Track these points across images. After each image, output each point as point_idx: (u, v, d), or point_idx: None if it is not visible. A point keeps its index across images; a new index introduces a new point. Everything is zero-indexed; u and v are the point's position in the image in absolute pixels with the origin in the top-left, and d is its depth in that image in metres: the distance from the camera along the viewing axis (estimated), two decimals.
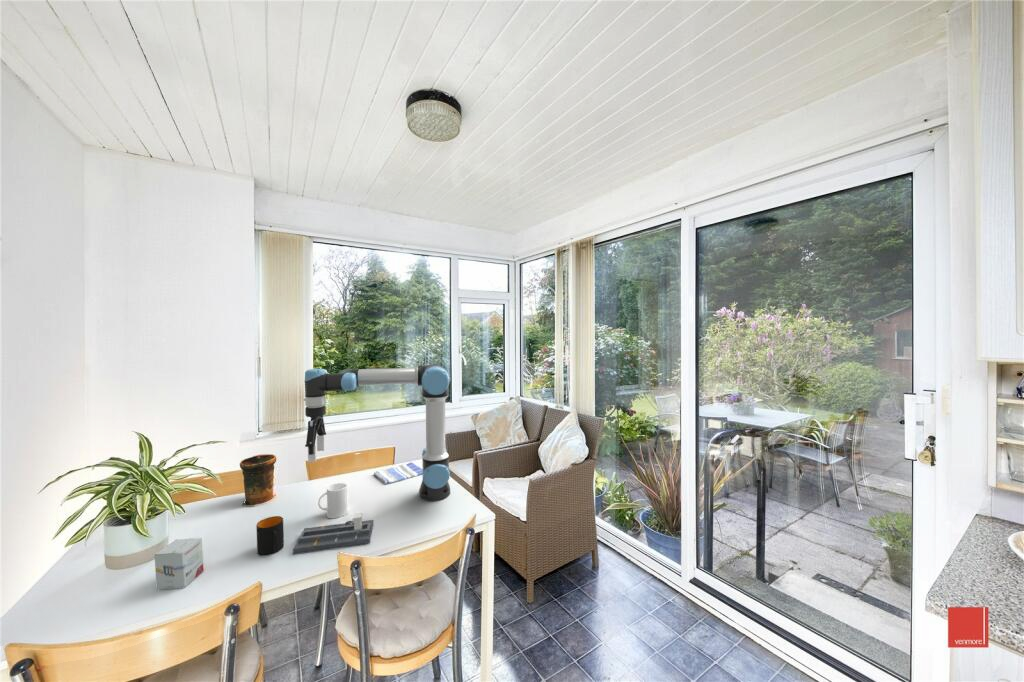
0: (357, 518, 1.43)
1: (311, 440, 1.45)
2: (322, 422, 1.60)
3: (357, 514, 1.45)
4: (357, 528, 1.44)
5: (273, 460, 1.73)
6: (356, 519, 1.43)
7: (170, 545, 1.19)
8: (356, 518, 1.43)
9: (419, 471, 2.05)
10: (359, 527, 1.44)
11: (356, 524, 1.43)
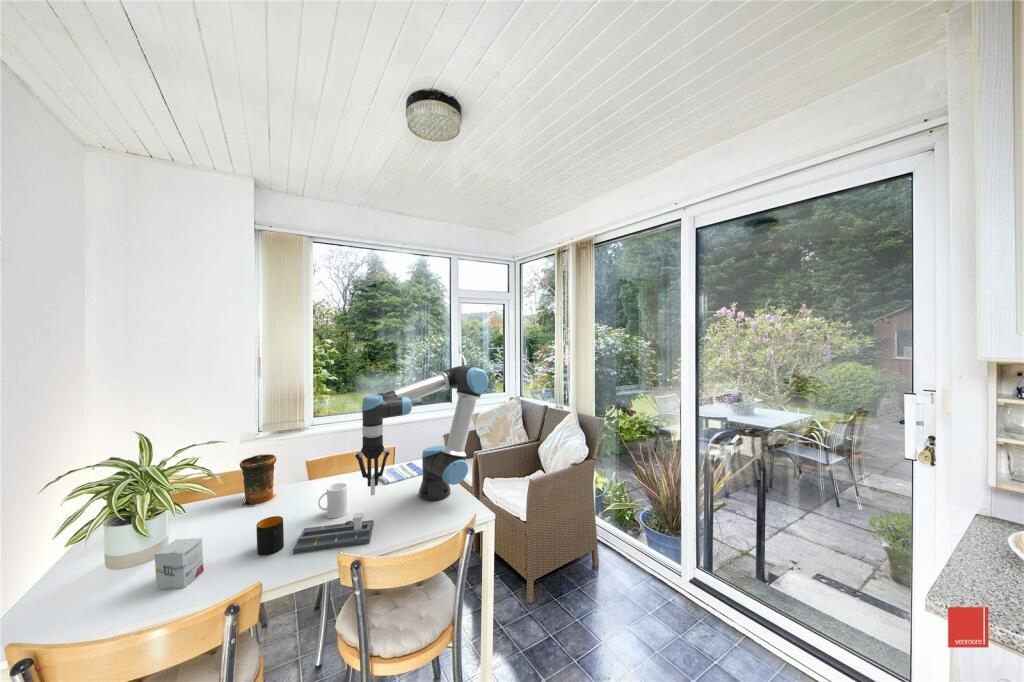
0: (357, 518, 1.43)
1: None
2: None
3: (357, 514, 1.45)
4: (357, 528, 1.44)
5: (273, 460, 1.73)
6: (356, 519, 1.43)
7: (170, 545, 1.19)
8: (356, 518, 1.43)
9: (419, 471, 2.05)
10: (359, 527, 1.44)
11: (356, 524, 1.43)
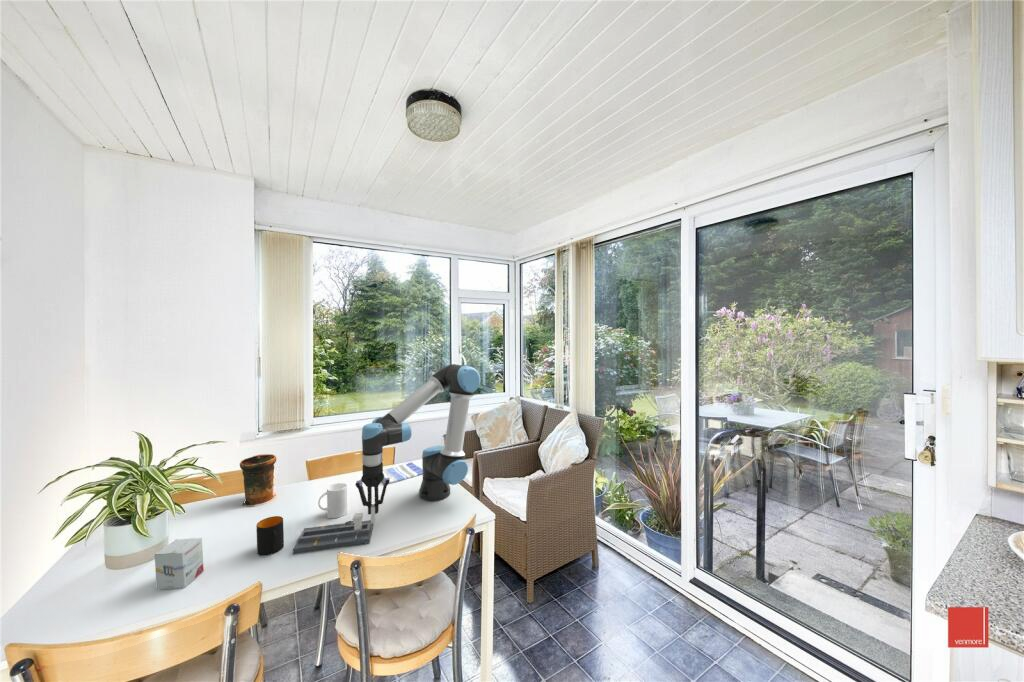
0: (357, 518, 1.43)
1: None
2: None
3: (357, 514, 1.45)
4: (357, 528, 1.44)
5: (273, 460, 1.73)
6: (356, 519, 1.43)
7: (170, 545, 1.19)
8: (356, 518, 1.43)
9: (419, 471, 2.05)
10: (359, 527, 1.44)
11: (356, 524, 1.43)
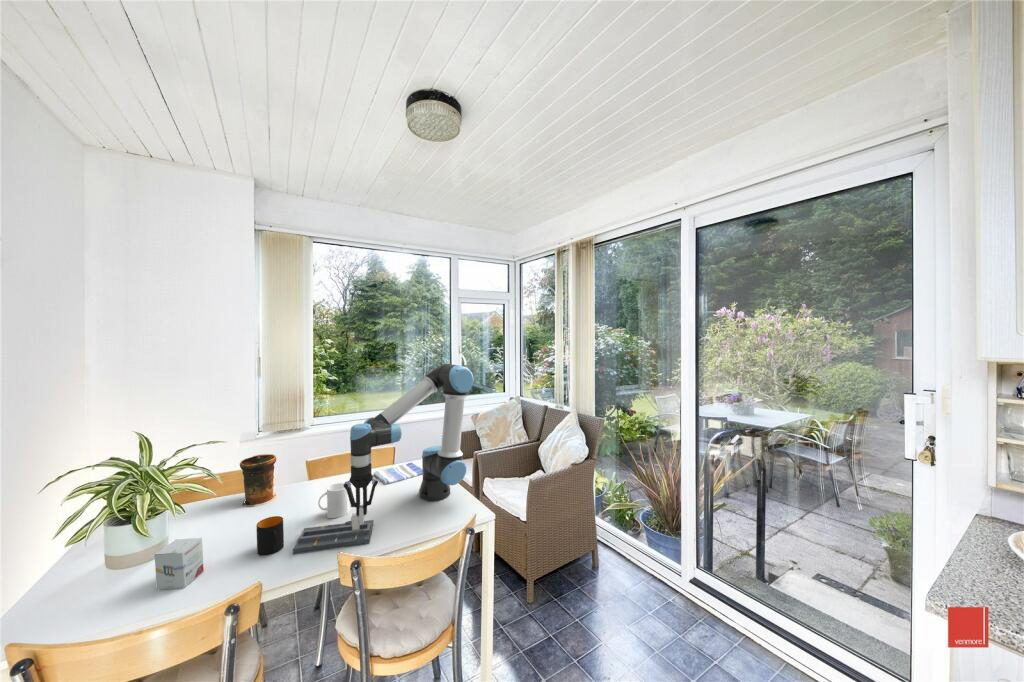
0: (355, 518, 1.43)
1: None
2: None
3: (355, 514, 1.45)
4: (355, 528, 1.43)
5: (273, 460, 1.73)
6: (354, 519, 1.42)
7: (170, 545, 1.19)
8: (354, 518, 1.42)
9: (419, 471, 2.05)
10: (357, 527, 1.44)
11: (354, 524, 1.43)
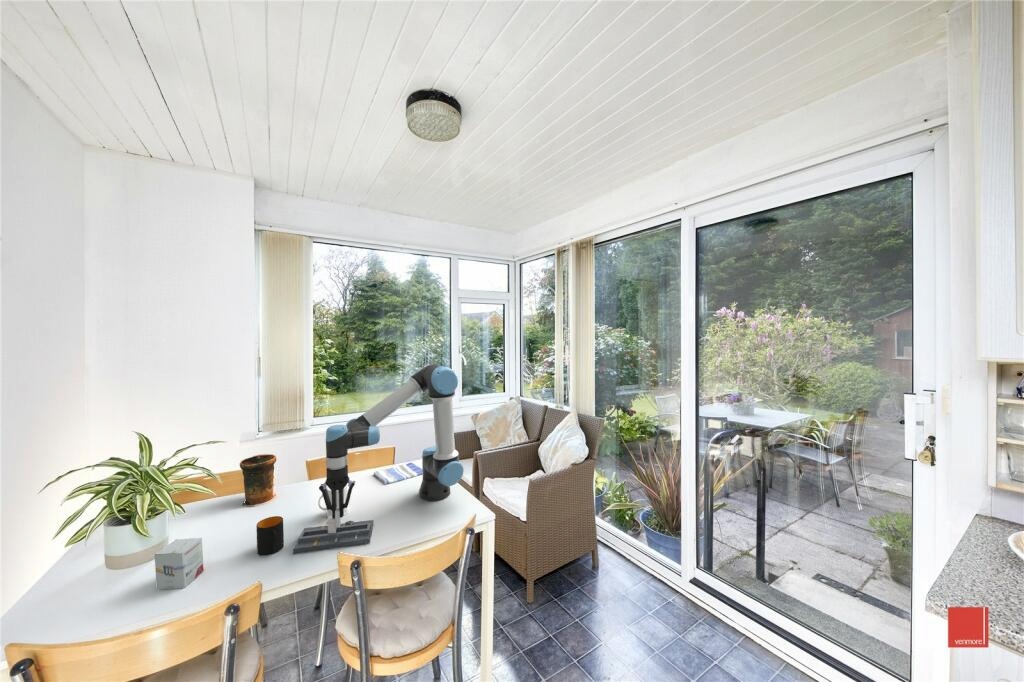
0: (331, 521, 1.40)
1: None
2: None
3: (331, 517, 1.43)
4: (331, 531, 1.41)
5: (273, 460, 1.73)
6: (330, 522, 1.40)
7: (170, 545, 1.19)
8: (330, 521, 1.40)
9: (419, 471, 2.05)
10: (333, 530, 1.41)
11: (330, 527, 1.41)
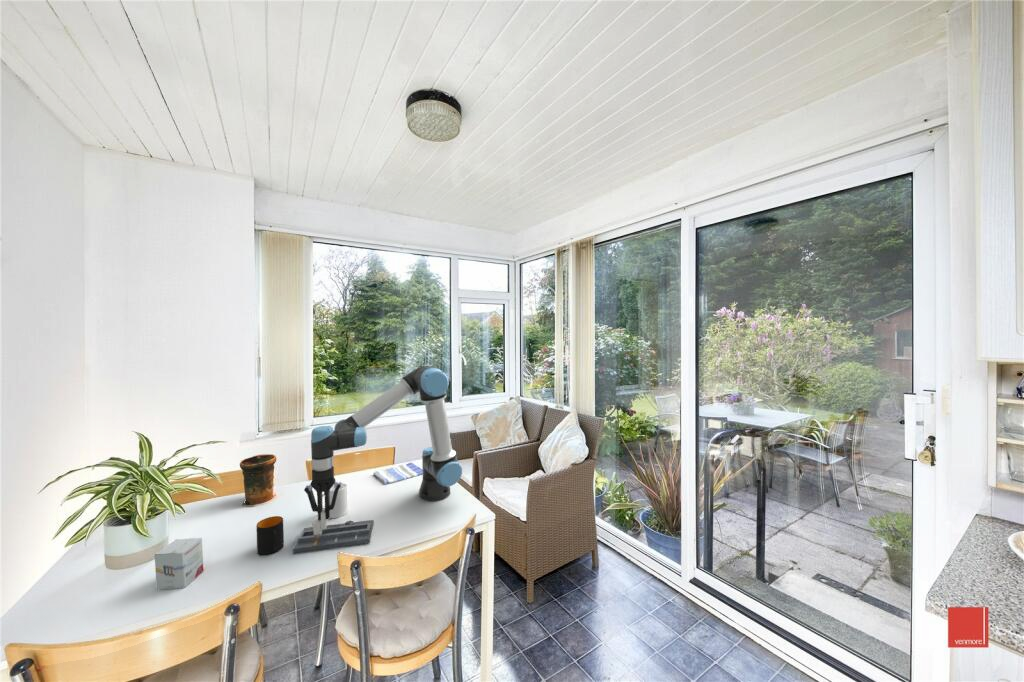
0: (316, 523, 1.39)
1: None
2: None
3: (317, 519, 1.42)
4: (317, 533, 1.40)
5: (273, 460, 1.73)
6: (315, 524, 1.39)
7: (170, 545, 1.19)
8: (315, 523, 1.39)
9: (419, 471, 2.05)
10: (319, 532, 1.40)
11: (316, 529, 1.40)
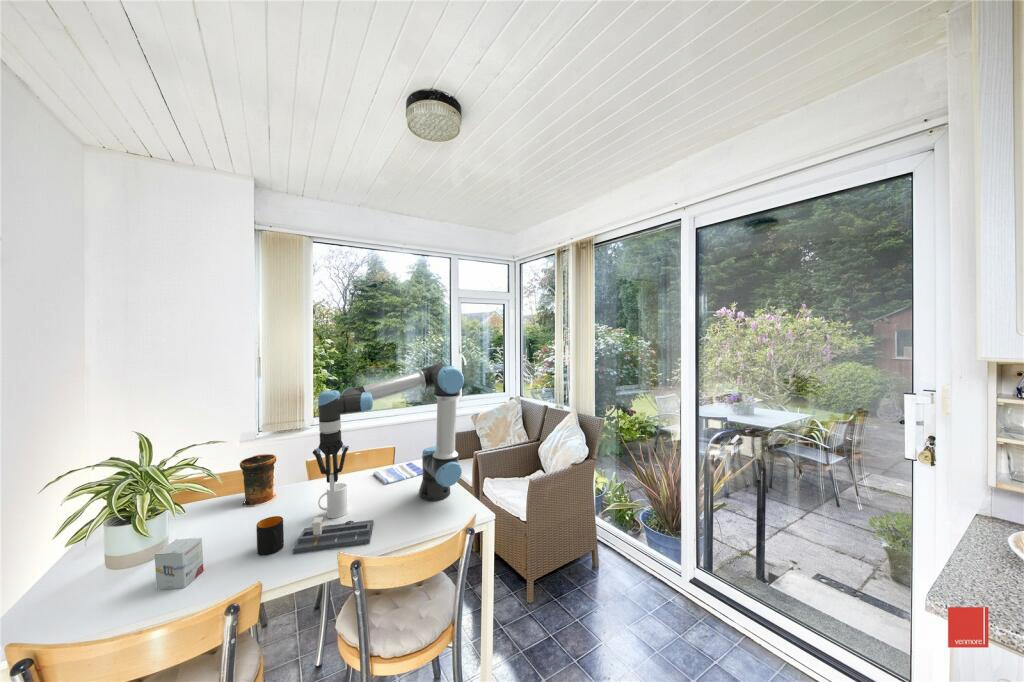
0: (316, 523, 1.39)
1: None
2: None
3: (317, 519, 1.42)
4: (316, 533, 1.40)
5: (273, 460, 1.73)
6: (315, 524, 1.39)
7: (170, 545, 1.19)
8: (315, 523, 1.39)
9: (419, 471, 2.05)
10: (318, 532, 1.40)
11: (315, 529, 1.40)
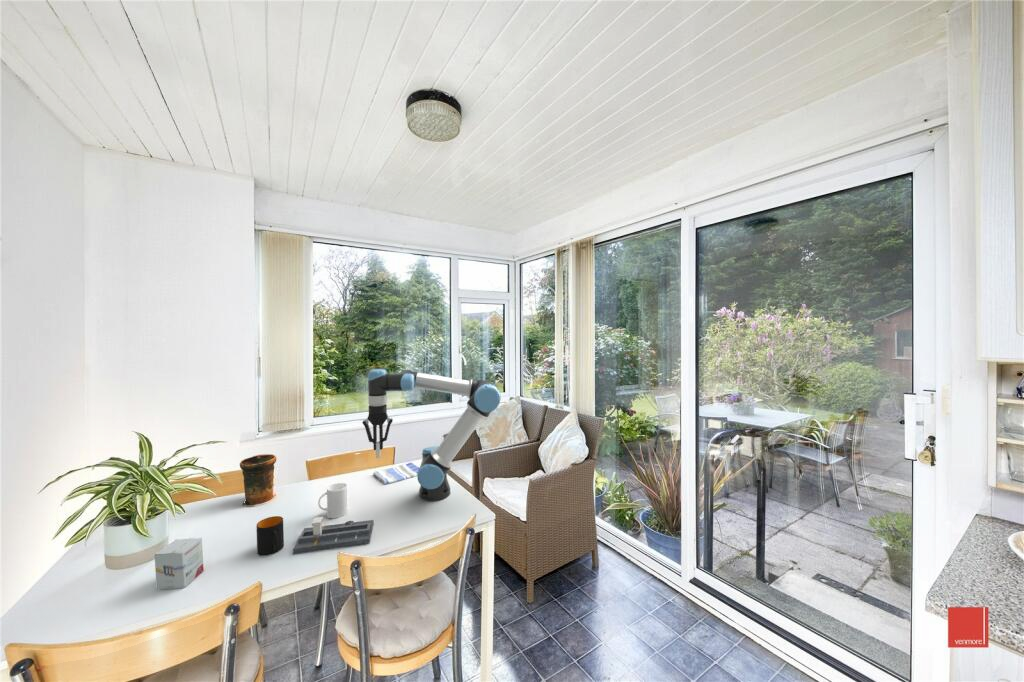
0: (316, 523, 1.39)
1: None
2: None
3: (317, 519, 1.42)
4: (316, 533, 1.40)
5: (273, 460, 1.73)
6: (315, 524, 1.39)
7: (170, 545, 1.19)
8: (315, 523, 1.39)
9: None
10: (318, 532, 1.40)
11: (315, 529, 1.40)
